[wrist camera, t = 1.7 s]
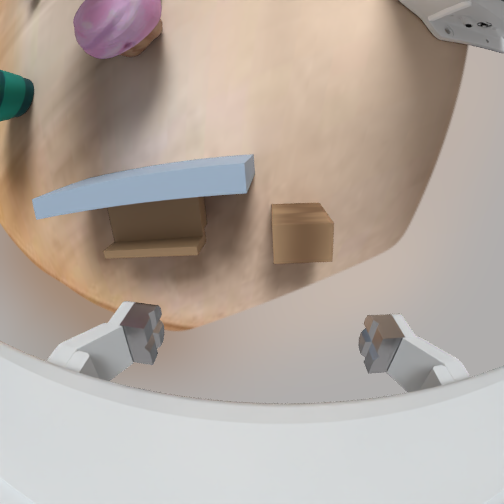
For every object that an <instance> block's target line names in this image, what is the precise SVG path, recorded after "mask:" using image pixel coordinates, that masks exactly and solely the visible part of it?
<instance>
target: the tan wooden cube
mask: <svg viewBox="0 0 504 504" xmlns="http://www.w3.org/2000/svg"><path fill="white" fill-rule="evenodd" d="M333 234H334V223H333V221H332V220H331V218H330V217H329V216H328V214H327V213H326V211H325V210H324V209H323V207H322V206H321V204H320V203H296V204H272V237H273V260H274V264H286V263H310V262H331V261H332V256H333Z"/></svg>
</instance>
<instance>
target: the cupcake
mask: <svg viewBox="0 0 504 504" xmlns="http://www.w3.org/2000/svg"><path fill="white" fill-rule="evenodd" d="M160 17H161V1H160V0H85V1H84V2H83V3H82V5H81V6H80V7H79V9H78V11H77V12H76V14H75V17H74V21H73V23H74V27H75V36H76V40H77V42H78V44H79V45H80V46H81V47H82V48H83V50H84V51H85V52H86V53H87V54H89V55H91V56H93V57H95V58H99V59H106V58H111V57H114V56H117V55H123V56H126V57H134V56H137V55H139V54H140V53H142V52H143V51H144V50H145V49H146V48H147V47H148V45H149V44H150V43H151V42H152V41H153V40H154V39H155V38H157V37H158V36H159V35H160V33H161V32H162V21H161V19H160Z"/></svg>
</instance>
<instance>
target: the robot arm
mask: <svg viewBox="0 0 504 504" xmlns="http://www.w3.org/2000/svg"><path fill="white" fill-rule="evenodd" d="M399 1H400V2H401V3H402V4H403V5H405V6H406V7H407V8H408V9H410V10H411V11H412V12H414V13H415V14H416V15H417V16H418V17H419V18H421V19H422V21H423V22H424V24H425V25H426V26H427V28H428V29H429V30H430V31H431V33H432V34H433V35H434V36H435V37H436V38H438V39H440V40H444V41H450V42H456V43H462V44H467V45H472V46H476V47H480V48H485V49H488V50H492V51H496V52H499V53H504V0H399ZM445 30H446V31H445ZM161 315H162V313H161V308H160V307H159V306H158V305H151V304H144V303H137V302H129V301H124V302H123V303H122V304H121V305H120V307H119V308H118V310H117V311H116V312H115V314H114V315H113V316H112V318H111V319H110V321H109V322H108V323H103V324H101V325H99V326H97V327H94V328H92V329H90V330H88V331H86V332H84V333H82V334H79V335H77V336H75V337H73V338H71V339H69V340H67V341H64V342H63V343H60V344H59V345H58V346H57V348H56V349H55V350H54V351H53V353H52V354H51V355H50V357H49V358H48V360H47V361H45V360H42V359H40V358H37V357H34V356H32V355H30V354H27V353H25V352H23V351H21V350H18V349H16V348H14V347H12V346H9V345H7V344H5V343H3V342H1V341H0V504H504V366H501V367H499V368H496V369H493V370H491V371H488V372H485V373H482V374H479V375H476V376H472V377H470V375H469V374H468V372H467V370H466V369H465V367H464V366H463V364H462V363H461V361H460V360H458V359H457V358H455V357H454V356H452V355H450V354H448V353H447V352H445V351H443V350H442V349H440V348H438V347H436V346H435V345H433V344H431V343H430V342H428V341H426V340H425V339H423V338H421V337H419V336H417V337H416V335H415V334H414V333H413V331H412V329H411V328H410V326H409V325H408V323H407V322H406V320H405V319H404V317H403V316H402V315H401V314H399V313H398V314H389V315H368V316H367V317H366V319H365V322H364V325H365V327H366V328H365V329H364V330H363V331H362V332H361V334H360V337H359V350H360V353H361V355H363V356H364V357H365V360H364V363H365V366H366V369H367V371H368V373H381V372H387V374H389V376H390V377H392V378H393V379H394V380H395V381H396V382H397V383H398V384H399V385H400V386H402V387H403V388H404V389H405V390H406V391H407V392H408V393H402V394H397V395H391V396H384V397H378V398H369V399H361V400H351V401H340V402H324V403H297V404H296V403H294V404H278V403H274V404H273V403H246V402H231V401H219V400H209V399H199V398H192V397H185V396H178V395H172V394H166V393H160V392H155V391H150V390H145V389H140V388H135V387H130V386H126V385H122V384H118V383H114V382H110V380H111V379H113V378H114V377H115V376H117V375H118V374H119V373H121V372H122V371H123V370H125V369H126V368H127V367H129V366H130V365H131V364H133V362H137V363H143V364H150V365H153V364H154V361H155V359H156V357H157V354H158V352H157V348H158V347H160V346H161V345H162V342H163V339H164V325H163V323H162V322H161V320H160V317H161Z"/></svg>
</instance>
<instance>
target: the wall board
mask: <svg viewBox="0 0 504 504" xmlns="http://www.w3.org/2000/svg"><path fill="white" fill-rule="evenodd" d="M254 175H255V169H254V155H253V154H252V155H238V156H227V157H216V158H206V159H197V160H189V161H181V162H174V163H167V164H160V165H154V166H148V167H142V168H136V169H131V170H126V171H120V172H115V173H110V174H106V175H101V176H97V177H92V178H88V179H85V180H82V181H79V182H76V183H73V184H70V185H68V186H65V187H62V188H60V189H57V190H54V191H52V192H49V193H47V194H44V195H42V196H39V197H37V198H34V199H32V202H33V206H34V211H35V215H36V220H37V219H42V218H47V217H52V216H58V215H63V214H69V213H75V212H81V211H87V210H93V209H100V208H108V213H109V218H110V223H111V227H112V232H113V236H114V240H115V242H114V243H113V244H112V245H110V246H109V247H108V248H107V249H105V250H104V251H103V253H104V256H105V259H109V258H135V257H161V256H187V255H198V254H199V253H200V251H201V249H202V247H203V246H204V244H205V242H206V237H205V229H204V227H205V226H206V225H207V219H206V211H205V203H204V196H215V195H228V194H243V193H247V191H248V189H249V187H250V184H251V182H252V179H253V177H254Z"/></svg>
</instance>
